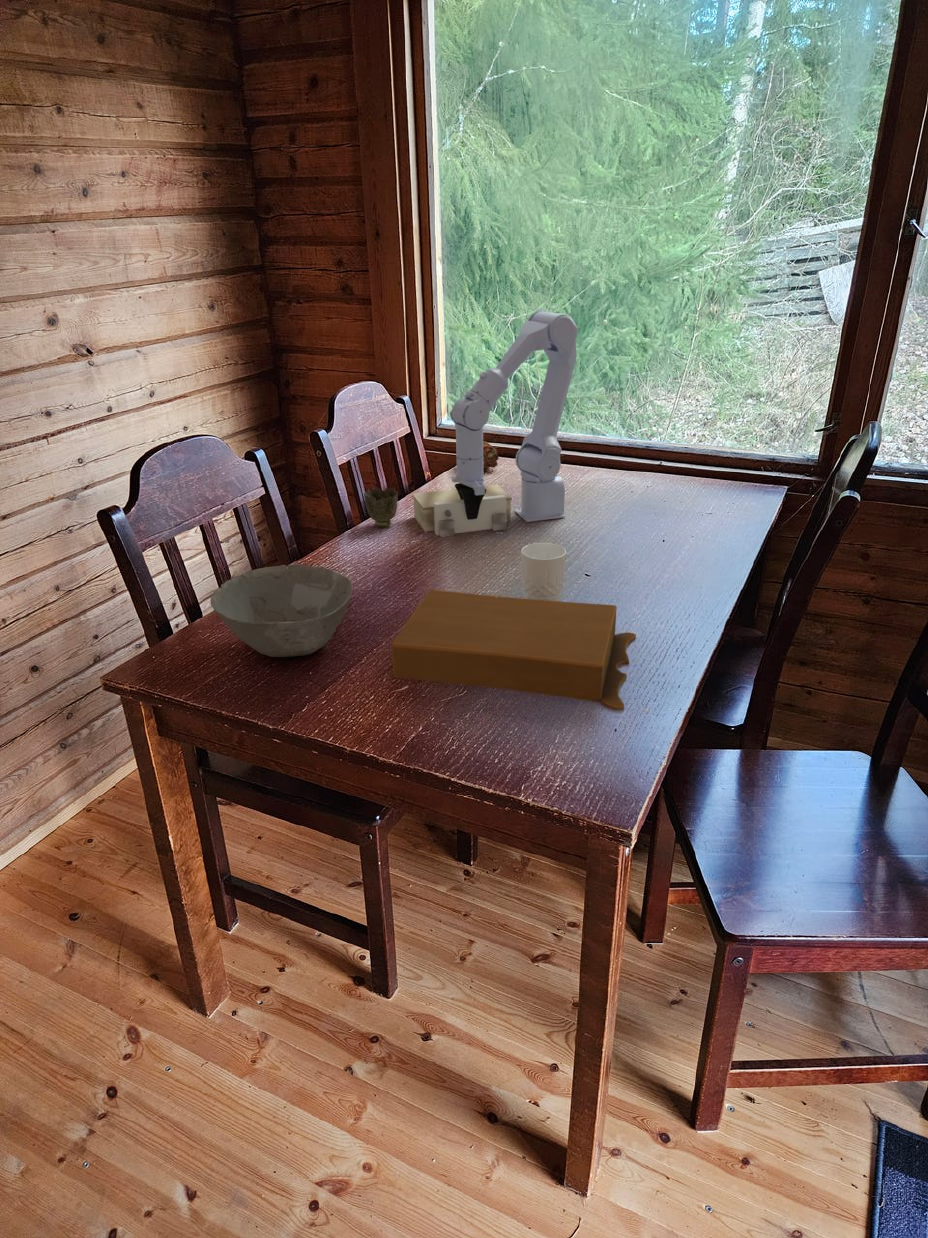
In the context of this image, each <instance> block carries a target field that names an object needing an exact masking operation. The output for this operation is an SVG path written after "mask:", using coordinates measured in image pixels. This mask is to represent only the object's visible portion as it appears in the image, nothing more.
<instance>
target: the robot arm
mask: <svg viewBox="0 0 928 1238" xmlns="http://www.w3.org/2000/svg"><path fill="white" fill-rule="evenodd" d="M578 332H579V328H578V326H577V324H576V322H575V321H574V319H573V318H572V317H571V316H570V315H569V314H566V313H555V312H549V311H546V310H542V309H540V310H536V311H533V312H532V313H531V315H529V317H528V319H527V320H526V321H525V322H524V323H523V324H522V326H521V331H520V333H519V334H518V336H517V337H516V338H515V340H514V342H513V343H512V344H511V345H510V346H509V348H508V350H507V351H506V353H505V354H504V355H503V357H502V358H501V359H500V361H499V362H498V364H497V365H496V367H494V368H488V369H486V370H485V371H481V373H480V374H479V376H478V377H479V379H478V380H477V381H476V382H475V383H474V385H473V386H472V387H471V389H470V390H467V391H466V393H465V394H464V395H465V396H464V397H462V398H458V399H457V400H456V401H455V402H454V404H453V406H452V410H451V411H450V412H449V416H450V420H451V421H452V422H453V424H454V427H455V428H454V429H455V447H456V448H455V449H456V452H455V454H456V455H455V456H456V475H455V476H452V477H451V481H452V483H455V484H454V487H455V488H454V489H457V491H458V494H459V496H460V499H461V500H462V499H463V500H464V504H465V511H466V516H467V519H468V520H471V519H477V517H478V513H479V508H480V504H481V501H482V499H483V497H484V495H485V494H486V489H485V486H486V485H485V484H484V483H485V475H484V472H483V441H484V426H485V425H487V424H488V421H489V418H490V413H491V411H492V408H493V407H494V405H495V404H496V403H497V402H498V400H499V399H500V398H501V397H502V395H503V394H504V393H505V392H506V391H507V390H508V388H509V378H510V377H511V376H512V375H513V374H514V373H515V372H516V371H517V370H518V369H519V368H520V366H521V365H523V363H524V362H525V361H526V360H527V359H528V358H529V357H530V356H531V355H532V354H533V353H534V352H536V351H542V350H543V351H544V353H545V355H546V356H547V358H548V360H549V361H548V365H547V370H546V374H545V377H544V382H543V385H542V389H541V394H540V398H539V401H538V402H539V403H538V406H537V410H536V413H535V418H534V422H533V427H532V430H531V432H529V433H528V434H527V435H526V436H525V437H523V440H522V444H521V446H520V448H519V449H518V450H517V452H516V453H515V454H516V455H515V464H516V467H517V468H518V470H519V471H520V476H521V489H520V491H521V495H520V496H521V497H520V498H521V499H520V500H521V502H520V503H521V505H520V508H515V509H514V510H515V511H514V512H515V513H517V514H518V515H519V517H521V519H523V520H524V521H525V522H527V523H530V522H538V521H546V520H547V521H548V520H554V519H562V518H565V517H566V515H565V497H566V495H565V493H566V492H565V491H566V488H565V483H564V480H563V478H562V477H561V475H558V474H559V473H560V470H561V464H562V463H561V452H562V447H561V445H560V443H559V441H558V439H557V436H558V431H559V427H560V424H561V419H562V414H563V412H564V407H565V404H566V401H567V396H568V393H569V390H570V389H569V388H570V384H571V380H572V377H573V372H574V369H575V366H576V361H577V355H578V354H577V345H576V344H577V343H576V342H577V341H576V340H577V336H578Z"/></svg>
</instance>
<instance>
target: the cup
mask: <svg viewBox="0 0 928 1238" xmlns="http://www.w3.org/2000/svg"><path fill="white" fill-rule="evenodd" d="M398 494H399V492H398V491H397V489H396V490H395V489H394V488H393V487H390V488H389V487H386V488H385V489H384V490H381V488H380V487H377V488H376V487H373V488H371V490H370V489H367V491H366V490H365V491H364V493H363V495H364V500H365V505H366V506H365V507H366V510H367V513H368V516H369V517H370V518H371V520H373V521H374V525H375V526H376V528H379V529H380V528H381V529H384V528H388V527H390V526H391V524H392V521H391V520H392V519H394V518H395V516H396V514H397V511H398V510H397V509H398Z"/></svg>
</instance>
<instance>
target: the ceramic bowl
mask: <svg viewBox="0 0 928 1238" xmlns="http://www.w3.org/2000/svg"><path fill="white" fill-rule="evenodd" d="M353 591H354V585H353V583H352V580H351V579H350V578H349V577H348V576H346V575H345V574H343V573H340V572H338V571H336V570H333V569H330V568H326V567H322V566H315V565H313V566H312V565H309V564H300V563H293V564H287V565H285V564H282V565H277V566H268V567H260V568H256V569H252V570H248V571H246V572H243V573H241V574H240V575H239V574H238V575H235V576H233V577H232V578H231V577H230V579H227V580H226V581H225V582H223V583H222V584H220V587H217V588H216V589H215V590H214V591H213V592H212V595H211V597H210V605H211V608H212V609H213V610H214V612H215V613H216V614H217V615H218V616H219V617H220V619H222V620H223V621H222V622H224V623H225V625H226V626H227V627H228V629H230V630H231V631H232V633H233V634H235V636H236V637H238V639H240V640H241V641H243V643H245V644H246V645H248V646H249V647H251V649H254V650H255V651H257V652H258V653H259V654H261V655H263V656H267V657H271V658H290V657H300V656H301V657H302V656H308V655H311V654H313V653H315V652H316V651H319V649H321V648H323V647H325V646H326V644H327V643H328V641H330V639H331V638H332V637H333V635H334V633H335V631H337V627H338V626H339V625H340V623H341V621H342V619H343V617H344V615H345V613H346V611H347V609H348V605H349V603H350V600H351V598H352V595H353Z"/></svg>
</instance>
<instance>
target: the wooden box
mask: <svg viewBox="0 0 928 1238" xmlns="http://www.w3.org/2000/svg"><path fill="white" fill-rule="evenodd" d="M416 607H417V608H416V609H415V610H414V611H413V613H412V614H411V616H409V619H408V620H407V621H406V623H405V624H404V626H403V627H402V628H401V630H400V631H399V632H398V634H397V636H396V637H395V638H394V639H393V641H392V642H391V645H390V647H391V648H390V649H391V662H392V670H393V671H392V674H393V677H394V678H396V679H405V680H415V681H424V682H434V683H435V682H436V683H446V684H455V685H461V686H462V685H464V686H471V687H472V686H473V687H474V686H475V687H482V688H483V687H484V688H491V689H498V690H499V689H500V690H508V691H515V692H516V691H517V692H522V693H523V692H524V693H531V694H537V695H539V694H540V695H544V696H546V695H547V696H555V697H562V698H566V699H567V698H569V699H575V700H583V701H588V702H596V703H600V704H601V705H602V706H604V707H605V708H609V709H611V710H613V711H623V710H624V709H625V703H624V702H623V701H622V699H621V697H620V696H619V690H620V687H621V686H622V685H623V683H624V681H625V680H626V679H627V677H628V673H624V672H622V671H621V670H619V669H618V667H620V666H623V665H629V664H630V659H629V657H628V653H627V648H628V646H629V644H630V643H632V642H633V641H634V640H636V638H637V637H636V636H637V634H636V633H633V632H629V631H628V632H621V633H618V634H616V621H617V606H616V605H615V604H614V605H613V604H605V603H604V604H602V603H589V602H588V603H587V602H572V601H571V602H570V601H562V600H561V601H548V600H535V599H524V598H521V597H509V596H501V595H500V596H496V595H491V594H489V595H487V594H480V593H478V594H477V593H466V592H457V591H449V590H437V589H429V591H427V593H426V595H425V596H424V598H423V599H422V600H421V601H420V603H419V604H418V606H416Z"/></svg>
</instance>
